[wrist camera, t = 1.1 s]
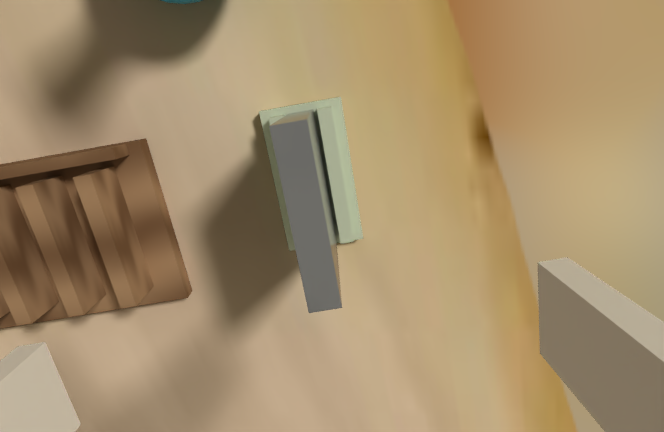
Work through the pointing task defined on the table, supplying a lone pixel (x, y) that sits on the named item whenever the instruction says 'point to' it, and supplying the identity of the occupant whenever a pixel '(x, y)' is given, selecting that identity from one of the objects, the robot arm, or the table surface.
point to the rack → (85, 235)
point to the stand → (333, 161)
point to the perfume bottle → (181, 1)
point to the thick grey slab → (308, 208)
